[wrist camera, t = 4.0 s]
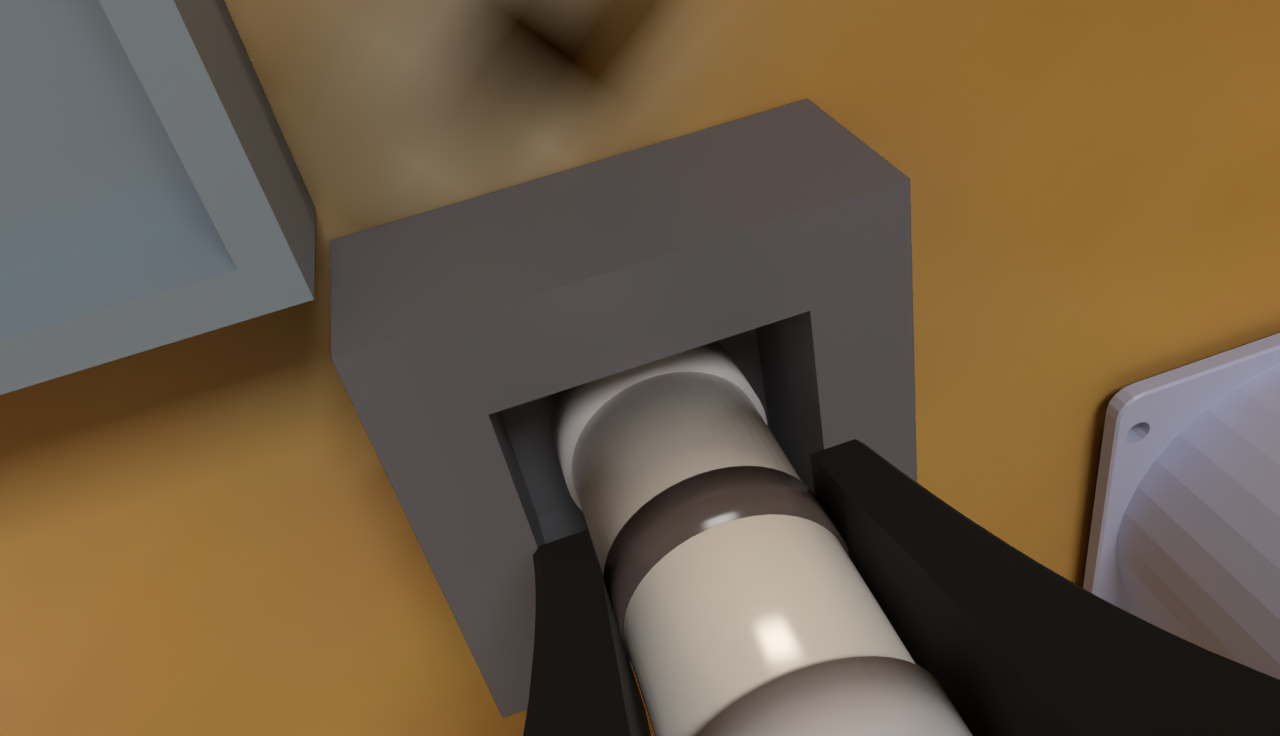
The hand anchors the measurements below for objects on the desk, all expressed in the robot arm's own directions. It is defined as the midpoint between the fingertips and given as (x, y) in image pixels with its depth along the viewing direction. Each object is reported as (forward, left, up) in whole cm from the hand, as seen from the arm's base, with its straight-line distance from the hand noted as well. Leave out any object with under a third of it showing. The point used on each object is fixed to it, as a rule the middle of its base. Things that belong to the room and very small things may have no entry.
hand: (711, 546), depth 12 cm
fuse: (0, 0, -3) cm, 3 cm away
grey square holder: (0, 0, -4) cm, 4 cm away
